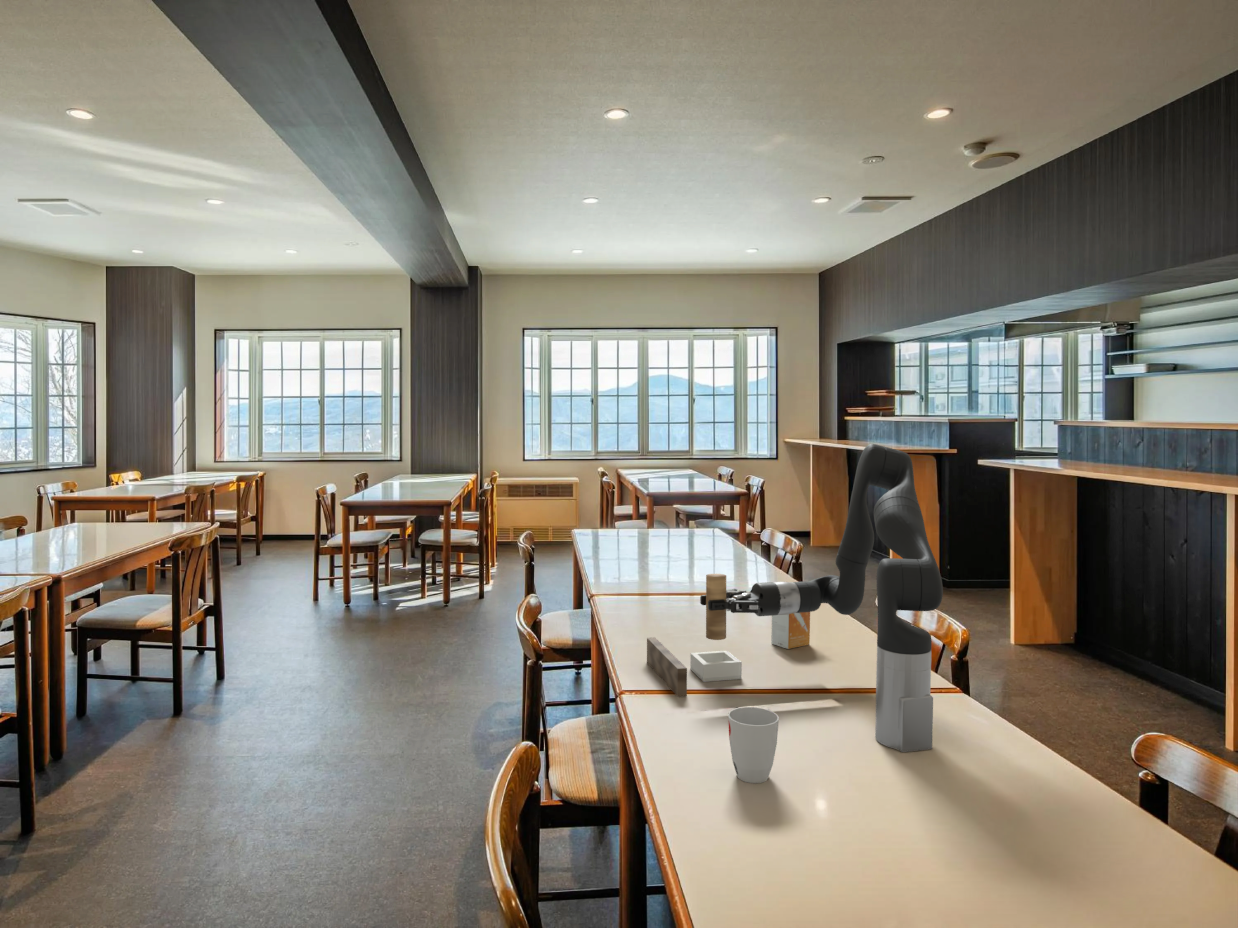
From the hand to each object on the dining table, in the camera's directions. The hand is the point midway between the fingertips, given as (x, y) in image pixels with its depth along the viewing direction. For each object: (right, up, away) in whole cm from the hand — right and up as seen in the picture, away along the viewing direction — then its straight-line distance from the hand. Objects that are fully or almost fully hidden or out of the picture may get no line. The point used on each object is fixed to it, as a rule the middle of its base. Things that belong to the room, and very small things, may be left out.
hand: (704, 602), depth 173 cm
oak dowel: (+3, -8, +1) cm, 8 cm away
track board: (0, -18, +1) cm, 18 cm away
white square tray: (+3, -16, +1) cm, 16 cm away
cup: (+3, -20, -47) cm, 51 cm away
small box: (+26, -16, +29) cm, 42 cm away
